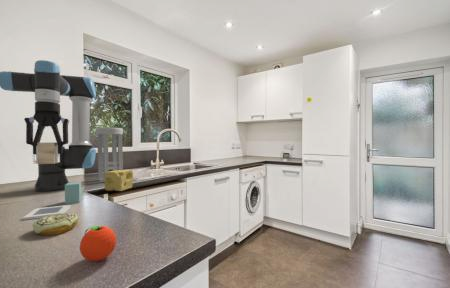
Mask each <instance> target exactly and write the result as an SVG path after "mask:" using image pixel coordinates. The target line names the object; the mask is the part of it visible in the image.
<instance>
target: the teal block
mask: <svg viewBox="0 0 450 288" xmlns="http://www.w3.org/2000/svg"><path fill="white" fill-rule="evenodd" d="M82 200H83V198H82V181H76V182H69V183H67V184H66V185H65V189H64V205H72V204H79V203H81V201H82Z"/></svg>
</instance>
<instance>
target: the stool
mask: <svg viewBox="0 0 450 288" xmlns="http://www.w3.org/2000/svg"><path fill="white" fill-rule="evenodd" d="M95 134H96V136H97V137H96V138H97V181H98V180H103V183H104V182H105V172H110V170H111V171H115V170H124V160H123V159H124V156H123V155H124V153H123V146H124V145H123V134H124V128H121V127H96V128H95ZM109 135H110V136H111V160H112V161H109Z"/></svg>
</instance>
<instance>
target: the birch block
mask: <svg viewBox="0 0 450 288" xmlns="http://www.w3.org/2000/svg"><path fill="white" fill-rule="evenodd" d="M55 146H58V145H57V142H40V143H38V163H37V165H38V164H55Z"/></svg>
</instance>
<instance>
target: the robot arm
mask: <svg viewBox="0 0 450 288" xmlns="http://www.w3.org/2000/svg"><path fill="white" fill-rule="evenodd" d="M60 69H61V68H60V66H59V64H58V63H55V62H54V61H49V60H45V59H43V60H41V59H40V60H37V61H35V63H34V69H33V71H34V73H30V72H19V71H18V72H17V71H10V70H9V71H0V88H1V89H2V90H4V91H9V92H21V93H22V92H26V93H27V92H28V93H34V101H35V102H34V114H33V116H31V117H25V118H24V122H25V124H26V126H25V127H26V128H25V130H26V131H25V133H26V135H25V137H26V138H25V143H26V144H27V145H30V146H31V147H32V154H33V155H36V157H35V158H36V160H35V161H36V164H37V166H38V167H37V169H38V170H37V173H38V177H37V179H36V181H35V185H34V191H35V192H51V191H59V190H65V185H66V184H67V183H70V182H69V180H68V177H67V175H66V170H74V169H75V170H76V169H77V170H78V169H88V168H89V169H90V168H92V167H93V166H94V164H95V162H96V155H97V150H96V148H95V147H94V146H93V144H92V143H91V142H90V139H91V138H90V136H91V135H90V131H91V130H90V125H91V124H90V121H91V120H90V119H91V118H90V117H91V116H90V115H91V114H90V109H91V108H90V106H91V105H90V104H91V103H92V102H93V99H94V98H96V97H97V96H96V95H97V92H96V86H95V82H94V80H93V79H92V78H90V77H88V76H87V77H86V76H73V75H65V74H64V75H62V74H61V70H60ZM61 96H64V97H68V98H69V100H70V101H71V102H72V104H71V105H72V106H71V107H72V110H71V111H72V112H71V113H72V114H71V143H69V123H70V119H68V118H63V117H62V115H61V104H60V103H61ZM35 121H36V123H37V126H36V127H37V128H36V131H35V135H34V123H35ZM60 121H61V123H62V136H61V134H60V131H59V127H58V124H59V123H60ZM48 127H50V128H51V130H52V132H53V135H54V138H55V141H56V142H55V143H57V145H58V146H55V164H38V143H41V139H42V136H43V134H44V130H45V129H46V128H48ZM68 144H69V145H68ZM65 145H68V148H66V146H65Z"/></svg>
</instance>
